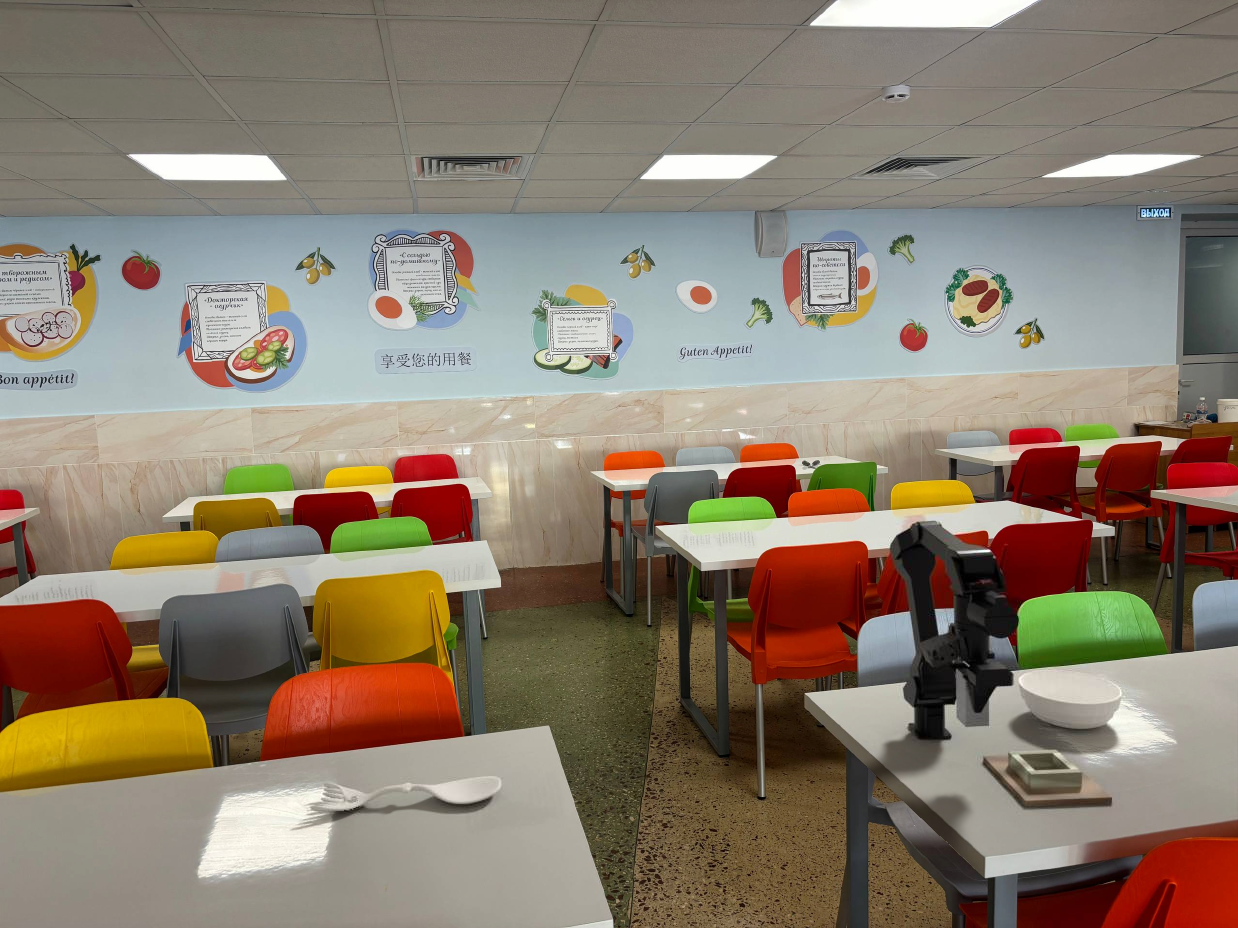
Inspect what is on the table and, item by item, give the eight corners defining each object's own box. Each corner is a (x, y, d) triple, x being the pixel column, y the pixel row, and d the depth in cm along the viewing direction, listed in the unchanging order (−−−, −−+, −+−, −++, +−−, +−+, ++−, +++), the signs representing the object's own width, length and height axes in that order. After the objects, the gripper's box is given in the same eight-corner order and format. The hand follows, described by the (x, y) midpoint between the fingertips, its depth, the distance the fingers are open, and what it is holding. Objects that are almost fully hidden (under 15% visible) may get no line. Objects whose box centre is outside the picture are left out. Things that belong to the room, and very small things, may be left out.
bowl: (1122, 711, 168) (1123, 677, 167) (1120, 747, 153) (1121, 710, 152) (1023, 697, 178) (1023, 664, 177) (1012, 729, 162) (1012, 693, 162)
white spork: (326, 797, 148) (324, 779, 148) (503, 783, 151) (502, 765, 150) (311, 824, 139) (309, 805, 139) (500, 808, 142) (499, 789, 141)
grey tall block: (956, 717, 146) (956, 668, 145) (979, 716, 146) (978, 667, 145) (965, 726, 142) (965, 676, 141) (989, 725, 142) (988, 675, 141)
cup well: (983, 761, 150) (983, 742, 149) (1060, 757, 149) (1060, 739, 149) (1025, 806, 134) (1025, 785, 133) (1112, 802, 133) (1112, 782, 133)
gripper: (906, 608, 151) (908, 689, 153) (946, 639, 133) (946, 732, 134) (967, 605, 151) (968, 687, 153) (1015, 636, 133) (1015, 729, 134)
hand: (972, 707), depth 143 cm, fingers closed on grey tall block, 4 cm apart
